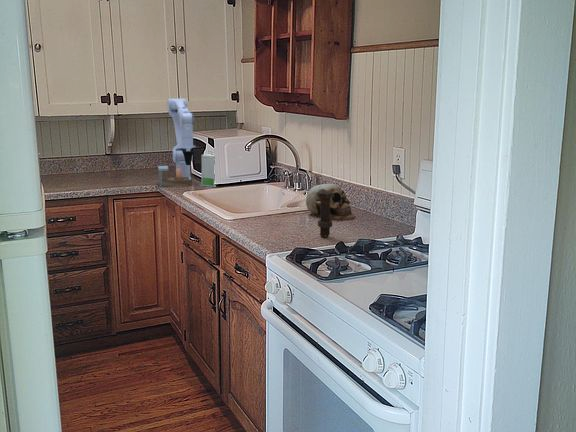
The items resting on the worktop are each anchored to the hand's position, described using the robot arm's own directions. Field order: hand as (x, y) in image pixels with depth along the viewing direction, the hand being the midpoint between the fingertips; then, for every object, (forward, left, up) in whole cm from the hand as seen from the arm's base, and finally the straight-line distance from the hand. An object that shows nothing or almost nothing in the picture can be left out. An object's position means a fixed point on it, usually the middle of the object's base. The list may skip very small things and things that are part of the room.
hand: (188, 164), depth 304 cm
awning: (+3, -12, -10) cm, 16 cm away
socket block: (+3, -7, -10) cm, 12 cm away
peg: (+3, -5, -10) cm, 11 cm away
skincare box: (+10, +11, -10) cm, 18 cm away
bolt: (+122, +38, -10) cm, 128 cm away
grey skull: (+90, +49, -10) cm, 103 cm away
